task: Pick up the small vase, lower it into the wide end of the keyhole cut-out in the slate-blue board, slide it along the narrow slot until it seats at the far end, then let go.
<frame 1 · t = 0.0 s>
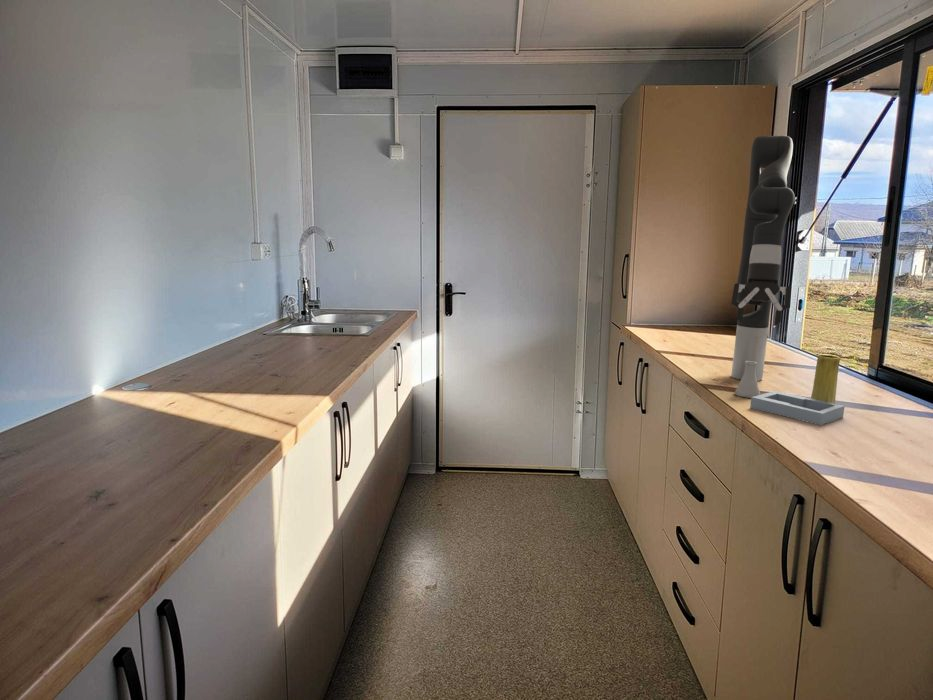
hand: (757, 323, 165), 22 cm above the table, tool pointing down, fingers open, 8 cm apart
flask: (747, 396, 179), on the table
keyhole board: (795, 412, 163), on the table
vase: (821, 407, 169), on the table
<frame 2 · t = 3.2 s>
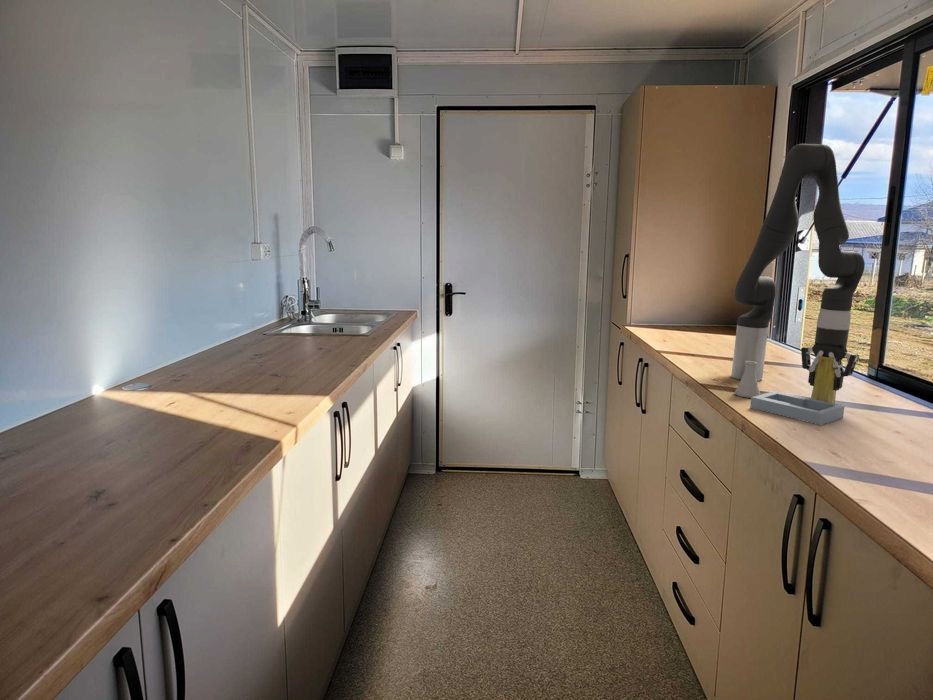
hand: (824, 387, 168), 6 cm above the table, tool pointing down, fingers closed on vase, 5 cm apart
vase: (821, 407, 169), on the table, touching gripper
everything else where it was.
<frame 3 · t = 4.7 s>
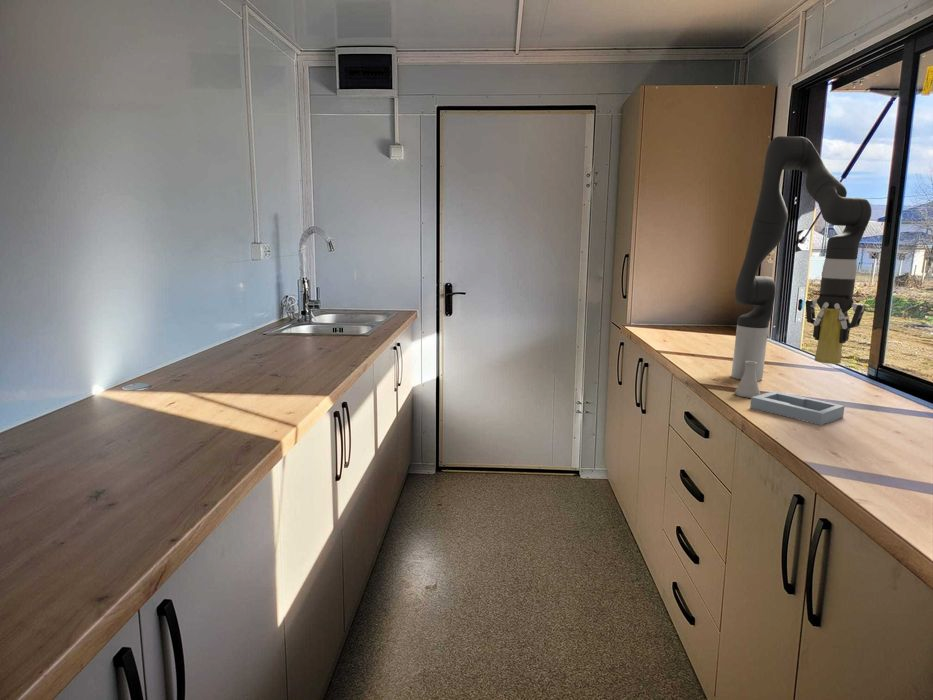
hand: (829, 341, 162), 19 cm above the table, tool pointing down, fingers closed on vase, 5 cm apart
vase: (827, 362, 163), point 13 cm above the table, touching gripper
everything else where it was.
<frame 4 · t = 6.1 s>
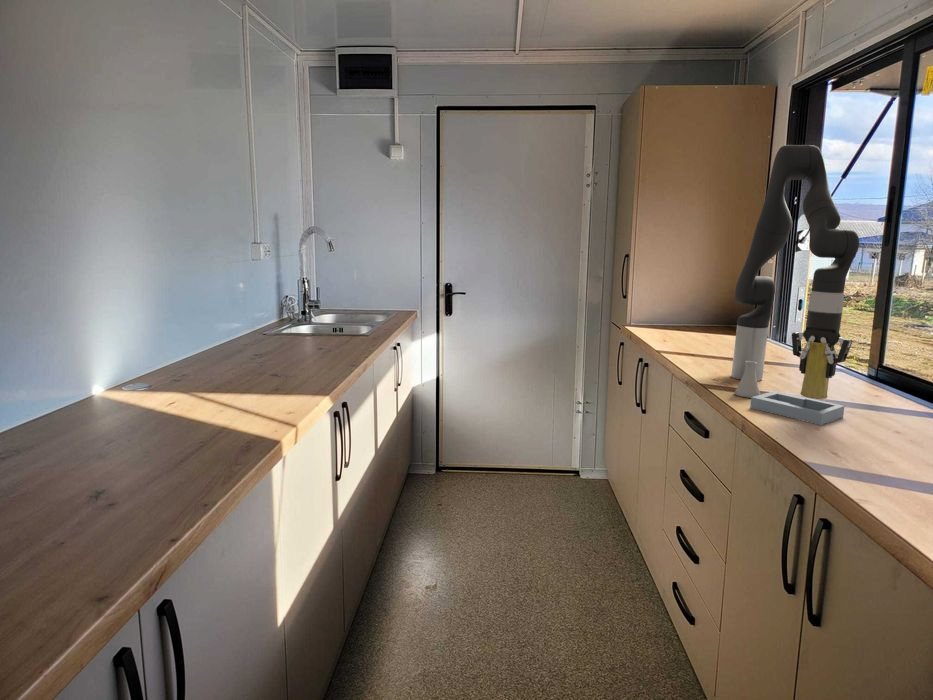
hand: (816, 375, 158), 11 cm above the table, tool pointing down, fingers closed on vase, 5 cm apart
vase: (813, 397, 159), point 5 cm above the table, touching gripper
everything else where it was.
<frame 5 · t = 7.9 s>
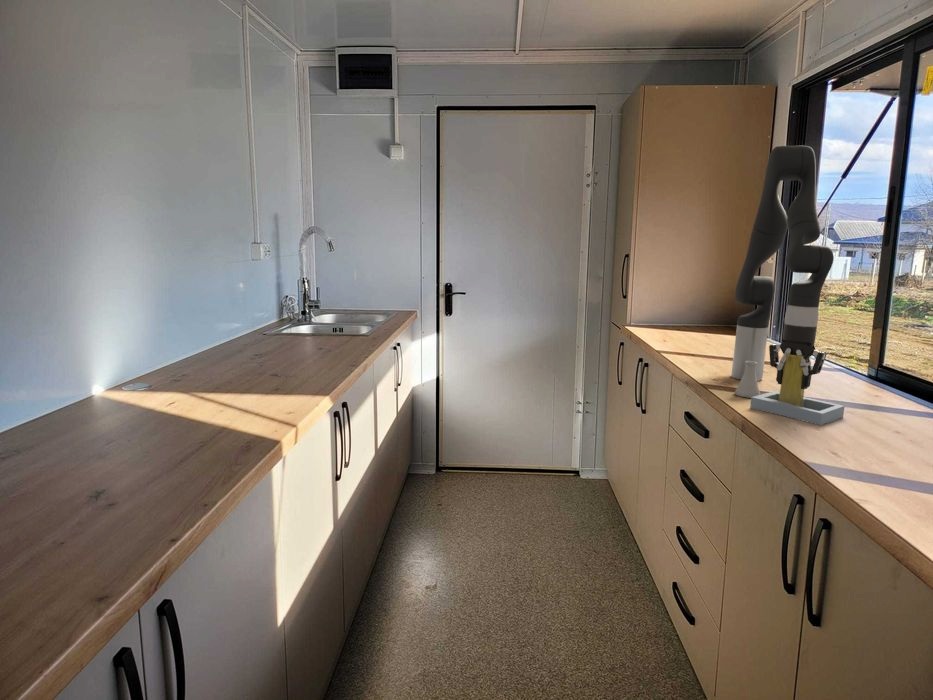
hand: (792, 386, 163), 7 cm above the table, tool pointing down, fingers closed on vase, 5 cm apart
vase: (789, 407, 164), point 1 cm above the table, touching gripper
everything else where it was.
when the fingers open (6 cm above the table, at t = 9.5 s): vase stays where it is, resting on keyhole board.
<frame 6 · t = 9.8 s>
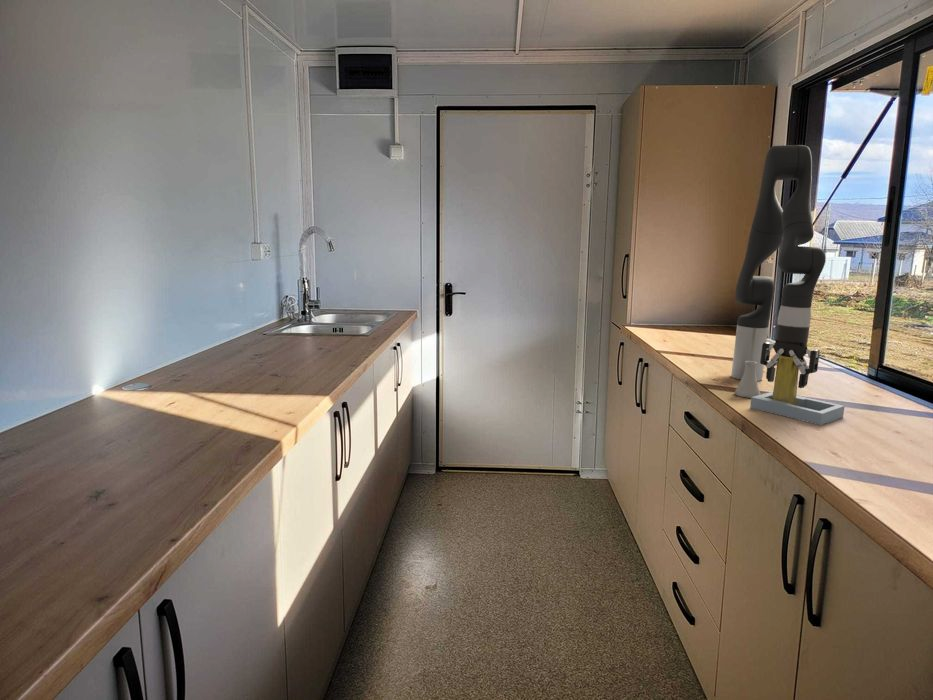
hand: (785, 384, 164), 7 cm above the table, tool pointing down, fingers open, 7 cm apart
vase: (782, 408, 166), resting on keyhole board
everything else where it was.
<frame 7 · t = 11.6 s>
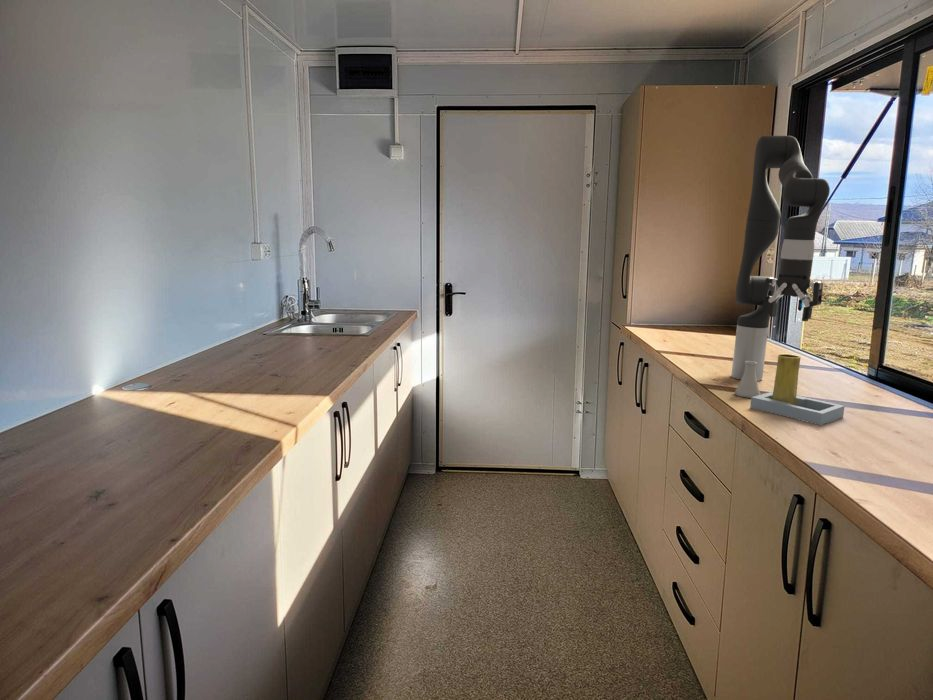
hand: (788, 318, 165), 24 cm above the table, tool pointing down, fingers open, 8 cm apart
nothing on the table moved.
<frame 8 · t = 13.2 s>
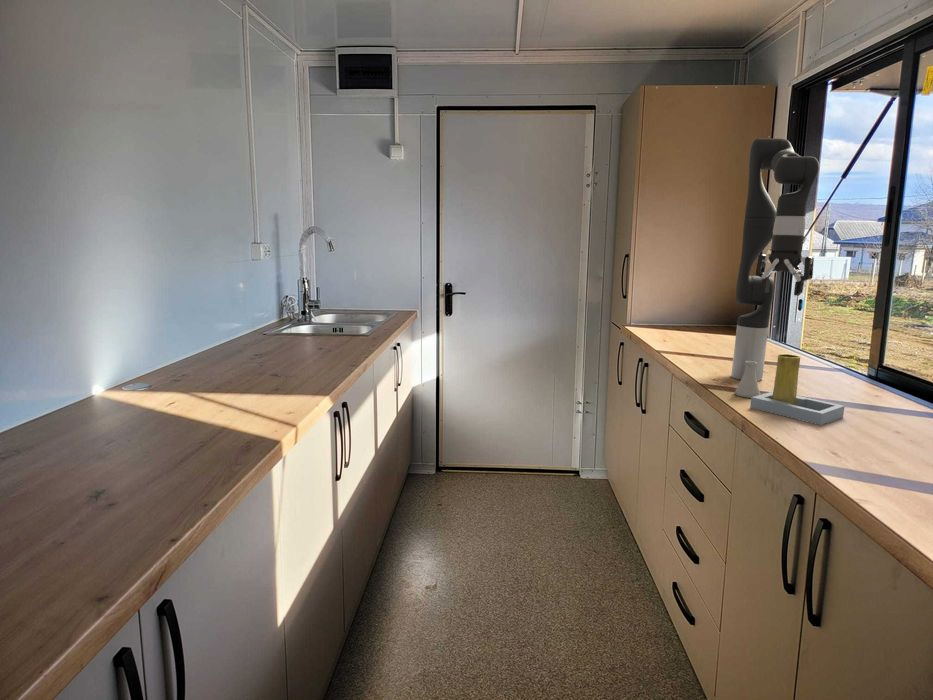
hand: (780, 294, 169), 30 cm above the table, tool pointing down, fingers open, 8 cm apart
nothing on the table moved.
at the end: vase 0.3 cm from the target spot on the keyhole board, point 0.2 cm above the keyhole board's base; vase tilted 0°; the gripper is holding nothing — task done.
